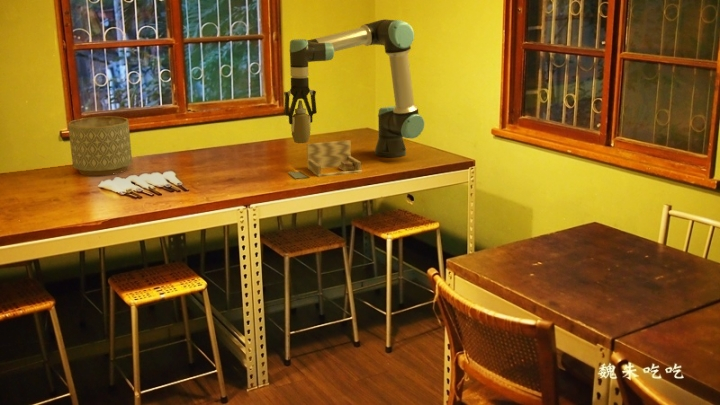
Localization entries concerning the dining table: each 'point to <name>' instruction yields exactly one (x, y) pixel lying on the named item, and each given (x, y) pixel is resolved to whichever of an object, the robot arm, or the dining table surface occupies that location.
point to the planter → (100, 145)
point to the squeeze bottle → (301, 125)
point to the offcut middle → (346, 168)
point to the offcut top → (347, 164)
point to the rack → (330, 157)
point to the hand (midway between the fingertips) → (301, 130)
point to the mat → (298, 175)
